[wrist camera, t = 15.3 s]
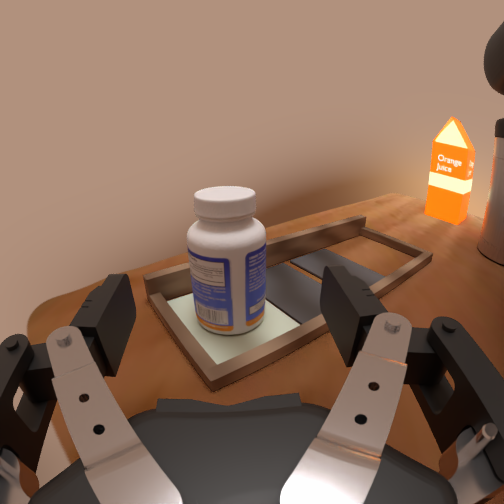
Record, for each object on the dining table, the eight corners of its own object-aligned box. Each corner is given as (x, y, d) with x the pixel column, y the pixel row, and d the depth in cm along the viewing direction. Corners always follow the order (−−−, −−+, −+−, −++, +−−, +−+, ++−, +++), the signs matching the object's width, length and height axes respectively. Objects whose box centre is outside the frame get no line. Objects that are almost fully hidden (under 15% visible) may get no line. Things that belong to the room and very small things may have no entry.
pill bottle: (250, 292, 26) (250, 181, 22) (276, 327, 21) (281, 197, 17) (190, 303, 24) (178, 188, 20) (204, 344, 20) (190, 206, 16)
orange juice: (466, 218, 50) (477, 125, 42) (457, 225, 45) (470, 119, 37) (435, 207, 56) (444, 119, 47) (423, 213, 51) (432, 113, 42)
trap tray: (358, 231, 41) (360, 214, 40) (431, 260, 32) (435, 242, 31) (147, 299, 25) (142, 275, 24) (212, 391, 16) (208, 363, 15)
